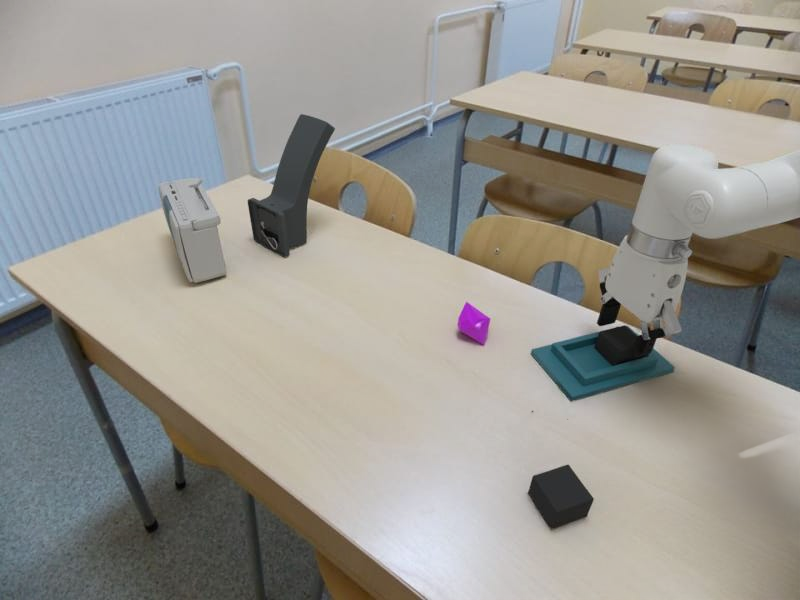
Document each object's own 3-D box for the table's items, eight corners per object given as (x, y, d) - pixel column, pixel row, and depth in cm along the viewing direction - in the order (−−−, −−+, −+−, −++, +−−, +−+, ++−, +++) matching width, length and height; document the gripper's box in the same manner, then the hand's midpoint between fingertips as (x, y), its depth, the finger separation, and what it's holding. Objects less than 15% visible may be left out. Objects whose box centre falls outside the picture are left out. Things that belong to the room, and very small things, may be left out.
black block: (640, 361, 81) (647, 344, 79) (614, 368, 80) (620, 351, 78) (619, 341, 85) (625, 324, 83) (593, 348, 84) (599, 331, 81)
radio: (170, 239, 111) (146, 148, 100) (210, 231, 115) (190, 142, 103) (189, 289, 97) (162, 188, 85) (233, 278, 100) (213, 180, 88)
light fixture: (345, 229, 116) (340, 120, 102) (284, 259, 106) (269, 141, 92) (313, 215, 122) (304, 109, 108) (252, 241, 111) (233, 128, 97)
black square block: (587, 516, 61) (594, 499, 59) (550, 529, 59) (556, 512, 57) (562, 481, 64) (568, 463, 62) (527, 493, 63) (532, 475, 61)
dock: (673, 371, 81) (678, 360, 79) (570, 401, 75) (574, 389, 74) (625, 329, 89) (629, 318, 88) (530, 353, 84) (533, 341, 82)
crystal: (453, 338, 86) (456, 316, 84) (464, 320, 90) (466, 298, 88) (483, 347, 85) (486, 325, 82) (493, 328, 89) (496, 307, 86)
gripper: (731, 266, 65) (683, 370, 75) (635, 208, 78) (605, 303, 88) (684, 277, 63) (641, 382, 73) (594, 215, 76) (568, 311, 86)
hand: (622, 338), depth 81 cm, fingers open, 7 cm apart
